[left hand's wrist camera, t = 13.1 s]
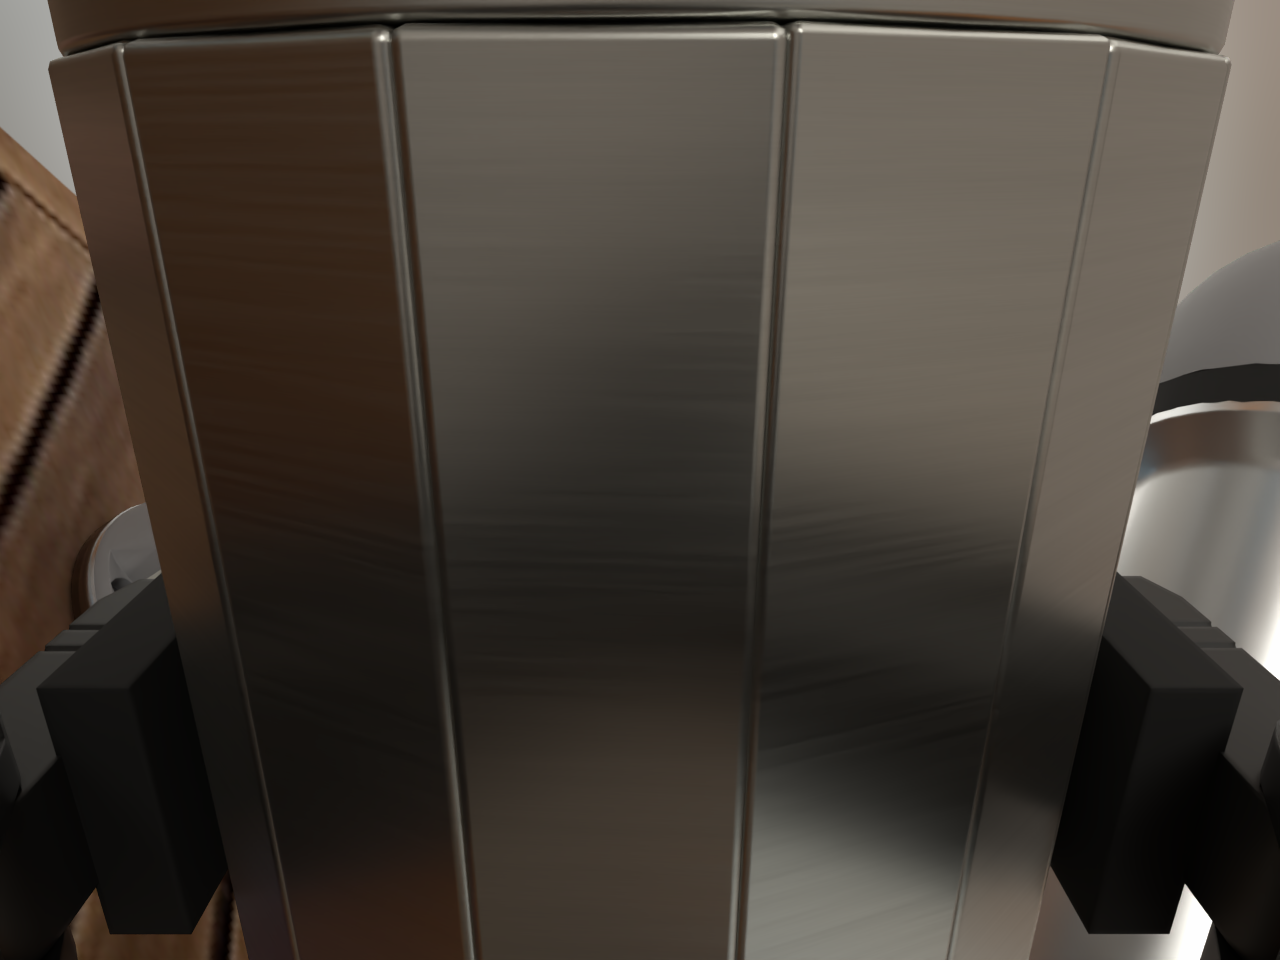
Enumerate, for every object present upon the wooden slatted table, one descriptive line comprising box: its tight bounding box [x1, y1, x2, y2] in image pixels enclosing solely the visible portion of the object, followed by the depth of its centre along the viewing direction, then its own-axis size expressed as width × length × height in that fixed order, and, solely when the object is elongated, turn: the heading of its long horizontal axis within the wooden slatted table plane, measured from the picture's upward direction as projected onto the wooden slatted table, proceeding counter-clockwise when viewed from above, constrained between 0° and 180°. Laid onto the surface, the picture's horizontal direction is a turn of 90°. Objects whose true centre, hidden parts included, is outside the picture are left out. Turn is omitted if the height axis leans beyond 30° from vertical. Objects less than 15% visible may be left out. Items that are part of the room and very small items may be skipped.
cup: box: [48, 0, 1234, 960], centre depth 9 cm, size 8×8×10 cm
